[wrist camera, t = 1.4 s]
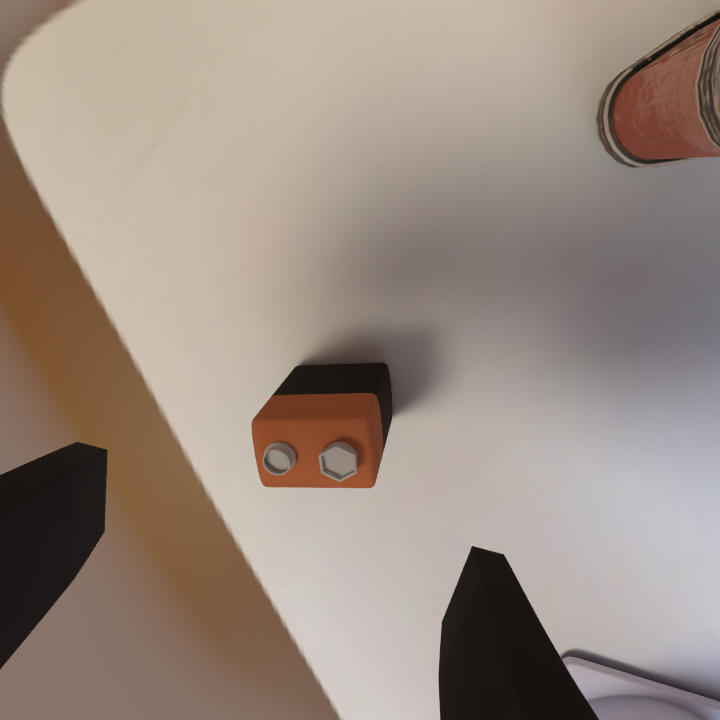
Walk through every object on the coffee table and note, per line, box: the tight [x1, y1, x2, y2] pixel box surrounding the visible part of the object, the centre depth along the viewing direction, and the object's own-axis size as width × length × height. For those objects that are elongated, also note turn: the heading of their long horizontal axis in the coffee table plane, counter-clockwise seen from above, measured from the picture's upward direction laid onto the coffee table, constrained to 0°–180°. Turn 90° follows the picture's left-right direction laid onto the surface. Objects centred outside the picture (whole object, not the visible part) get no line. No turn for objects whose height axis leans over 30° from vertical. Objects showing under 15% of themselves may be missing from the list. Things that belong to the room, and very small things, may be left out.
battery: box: [252, 363, 393, 488], centre depth 17 cm, size 2×3×5 cm, turn 96°
